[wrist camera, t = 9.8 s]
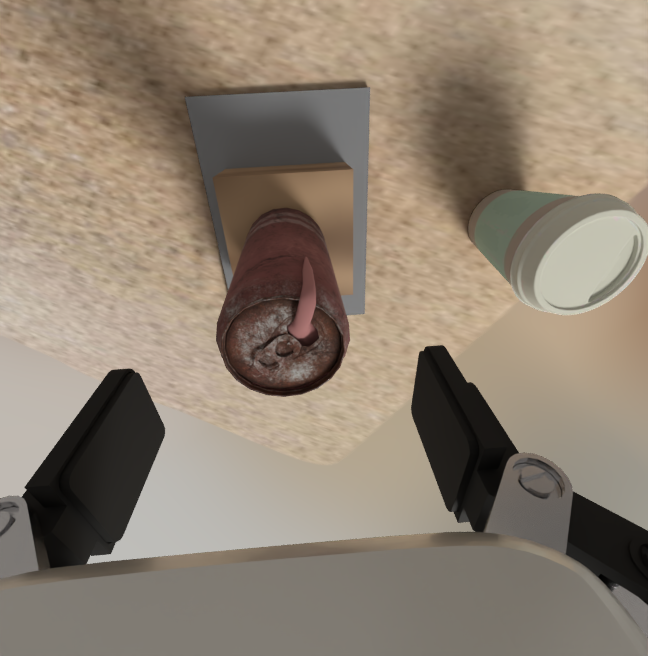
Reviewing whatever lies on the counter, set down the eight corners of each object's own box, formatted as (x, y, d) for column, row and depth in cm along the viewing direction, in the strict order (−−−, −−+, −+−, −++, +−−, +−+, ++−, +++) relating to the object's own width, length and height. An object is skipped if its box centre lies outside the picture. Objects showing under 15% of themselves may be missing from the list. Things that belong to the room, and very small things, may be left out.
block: (225, 169, 27) (212, 177, 23) (344, 161, 28) (353, 169, 23) (246, 279, 33) (238, 303, 28) (345, 272, 33) (352, 294, 29)
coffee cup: (482, 278, 35) (557, 341, 25) (436, 223, 32) (502, 271, 21) (557, 218, 32) (677, 263, 22) (515, 150, 29) (635, 166, 18)
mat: (187, 97, 25) (184, 96, 24) (368, 88, 25) (369, 87, 25) (236, 320, 36) (235, 323, 35) (363, 311, 36) (364, 313, 36)
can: (333, 212, 25) (372, 298, 13) (315, 286, 28) (333, 409, 16) (252, 193, 24) (217, 271, 12) (243, 273, 27) (208, 396, 15)
